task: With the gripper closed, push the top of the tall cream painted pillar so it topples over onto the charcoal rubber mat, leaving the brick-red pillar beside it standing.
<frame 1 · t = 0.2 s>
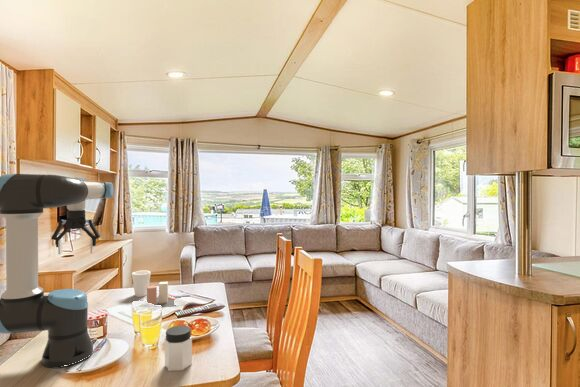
hand: (76, 253, 162), 28 cm above the table, fingers open, 13 cm apart
foam cup: (141, 296, 185), on the table
mat: (167, 302, 175), on the table
jar: (178, 365, 114), on the table
cream pillar: (163, 301, 174), point 1 cm above the table, touching mat
brick pillar: (151, 306, 167), point 1 cm above the table, touching mat
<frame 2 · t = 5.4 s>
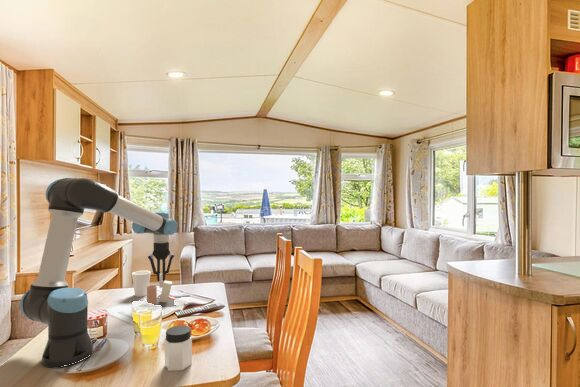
hand: (161, 286, 174), 9 cm above the table, fingers closed
cream pillar: (163, 301, 174), point 1 cm above the table, tilted 13°, touching mat
everything else where it was.
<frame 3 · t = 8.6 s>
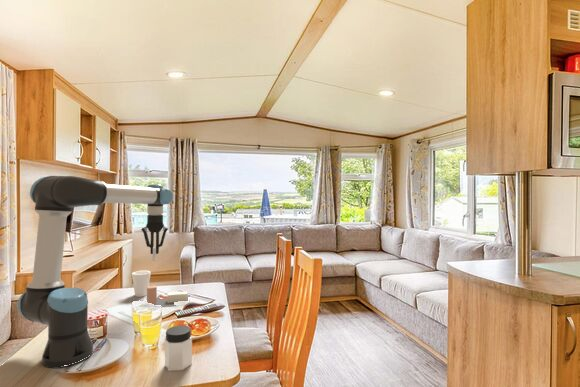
hand: (154, 260, 172), 23 cm above the table, fingers closed
cream pillar: (167, 297, 175), point 3 cm above the table, tilted 90°, touching mat
everything else where it was.
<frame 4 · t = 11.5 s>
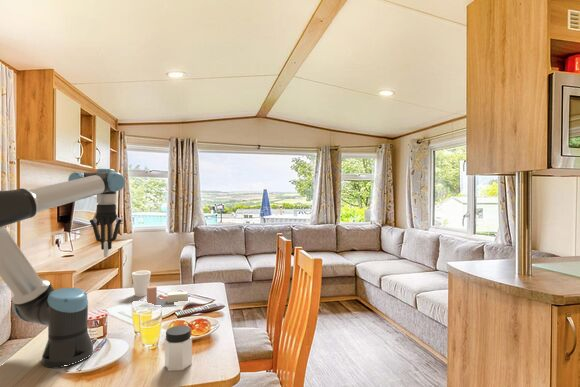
hand: (106, 256, 148), 29 cm above the table, fingers closed
nothing on the table moved.
at the end: cream pillar tilted 90°; cream pillar inside the target area (6.5 cm from its centre), point 2.6 cm above the table; brick pillar tilted 0° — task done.
